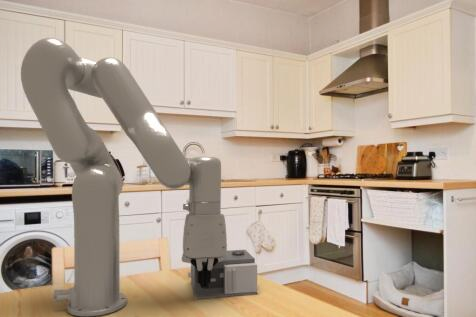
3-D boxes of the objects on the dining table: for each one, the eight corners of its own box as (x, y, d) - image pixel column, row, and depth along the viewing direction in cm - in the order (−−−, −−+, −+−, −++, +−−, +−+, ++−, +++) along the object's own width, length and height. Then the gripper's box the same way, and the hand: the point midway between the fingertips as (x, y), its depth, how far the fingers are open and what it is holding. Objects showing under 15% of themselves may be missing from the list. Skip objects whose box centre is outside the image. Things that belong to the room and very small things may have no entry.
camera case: (195, 299, 88) (195, 262, 88) (191, 282, 100) (190, 250, 100) (257, 294, 91) (257, 258, 91) (245, 278, 103) (245, 247, 103)
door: (225, 295, 89) (225, 267, 89) (223, 291, 91) (223, 265, 91) (257, 292, 91) (257, 265, 91) (255, 289, 93) (255, 262, 93)
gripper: (173, 211, 84) (172, 293, 83) (238, 210, 87) (238, 289, 87) (172, 207, 91) (171, 282, 91) (232, 206, 94) (231, 279, 94)
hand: (203, 285), depth 89 cm, fingers closed
